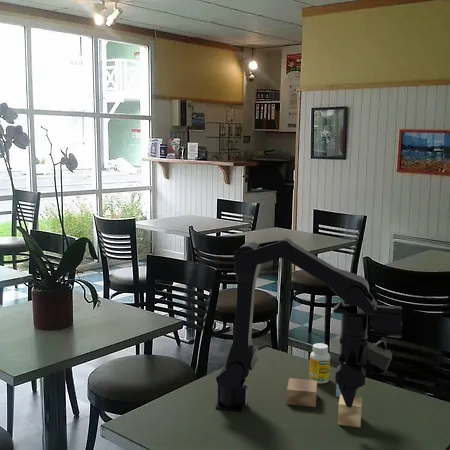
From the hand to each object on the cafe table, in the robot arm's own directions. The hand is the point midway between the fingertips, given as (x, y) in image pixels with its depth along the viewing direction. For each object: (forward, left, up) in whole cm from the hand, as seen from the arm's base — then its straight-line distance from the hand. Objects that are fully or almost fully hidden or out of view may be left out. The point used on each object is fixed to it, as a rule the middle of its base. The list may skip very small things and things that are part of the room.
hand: (350, 398), depth 132 cm
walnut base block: (-12, +8, -6) cm, 15 cm away
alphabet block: (-2, +13, -6) cm, 14 cm away
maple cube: (0, 0, -6) cm, 6 cm away
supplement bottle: (-9, +21, -6) cm, 24 cm away
